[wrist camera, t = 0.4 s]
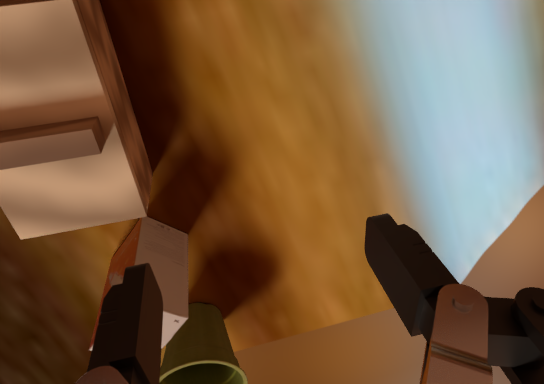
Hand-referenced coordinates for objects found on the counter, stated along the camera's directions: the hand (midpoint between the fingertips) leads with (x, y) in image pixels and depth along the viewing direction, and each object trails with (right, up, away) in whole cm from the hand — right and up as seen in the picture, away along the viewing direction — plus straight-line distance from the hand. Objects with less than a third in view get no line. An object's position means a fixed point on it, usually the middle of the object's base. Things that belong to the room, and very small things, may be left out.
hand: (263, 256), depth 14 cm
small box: (-15, -4, +33) cm, 36 cm away
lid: (-18, +7, +16) cm, 25 cm away
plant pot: (-11, -16, +41) cm, 46 cm away
